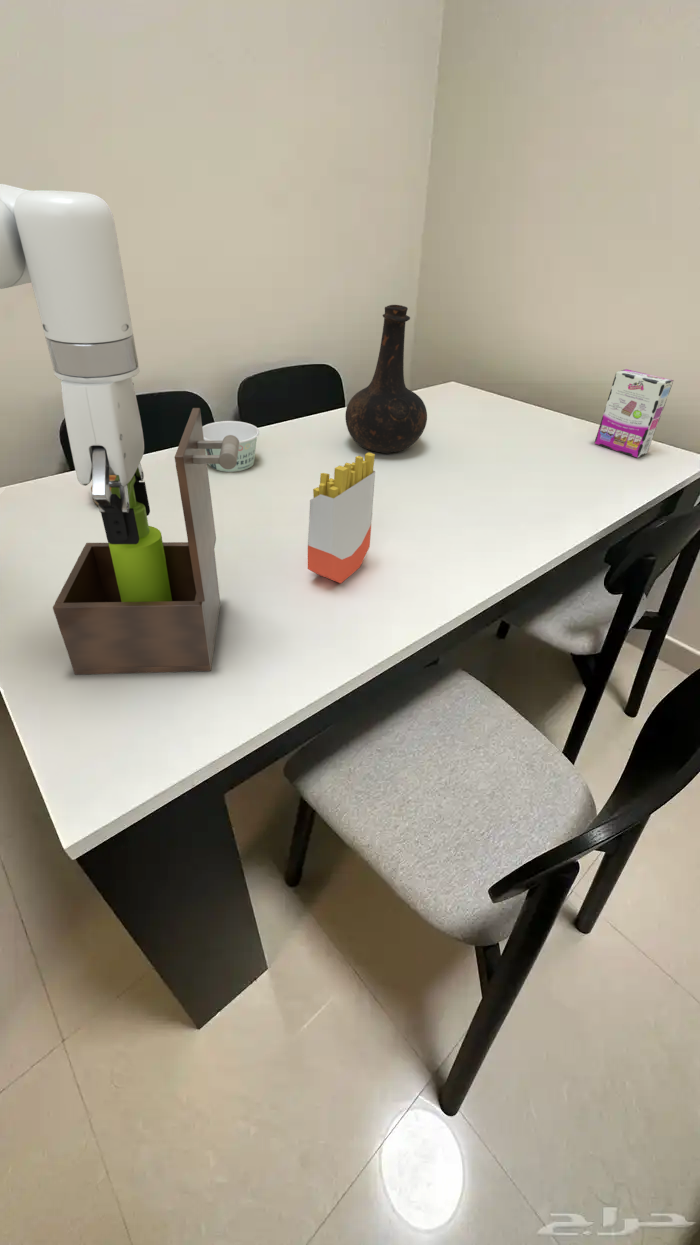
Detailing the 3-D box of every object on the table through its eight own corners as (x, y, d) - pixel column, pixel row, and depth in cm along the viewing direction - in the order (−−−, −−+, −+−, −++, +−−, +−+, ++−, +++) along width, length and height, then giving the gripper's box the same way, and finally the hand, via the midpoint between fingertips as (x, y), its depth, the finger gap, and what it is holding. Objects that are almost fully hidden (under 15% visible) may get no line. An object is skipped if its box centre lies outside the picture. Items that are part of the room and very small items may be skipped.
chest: (74, 674, 69) (52, 607, 62) (103, 605, 79) (86, 542, 73) (210, 671, 70) (201, 605, 64) (220, 603, 81) (213, 541, 75)
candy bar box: (647, 453, 134) (675, 379, 124) (637, 458, 131) (665, 383, 121) (603, 439, 140) (626, 367, 130) (592, 443, 138) (615, 370, 127)
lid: (174, 456, 54) (231, 456, 54) (192, 407, 64) (240, 408, 65) (197, 602, 64) (245, 600, 64) (210, 538, 75) (250, 538, 75)
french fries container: (305, 581, 86) (305, 466, 75) (344, 551, 94) (349, 442, 82) (331, 592, 84) (334, 475, 73) (369, 560, 92) (377, 450, 81)
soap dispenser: (123, 648, 71) (87, 494, 59) (131, 615, 76) (100, 469, 65) (173, 645, 72) (147, 493, 60) (177, 613, 77) (154, 468, 66)
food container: (236, 479, 113) (233, 447, 109) (188, 465, 117) (184, 433, 113) (272, 460, 121) (271, 429, 117) (227, 446, 126) (224, 416, 121)
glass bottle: (354, 463, 122) (362, 315, 104) (336, 433, 135) (340, 297, 118) (434, 459, 125) (455, 315, 108) (408, 430, 139) (423, 298, 122)
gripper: (78, 333, 60) (113, 494, 71) (19, 382, 47) (74, 570, 58) (152, 336, 61) (175, 494, 72) (115, 384, 48) (151, 569, 59)
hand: (130, 526), depth 65 cm, fingers closed on soap dispenser, 5 cm apart
